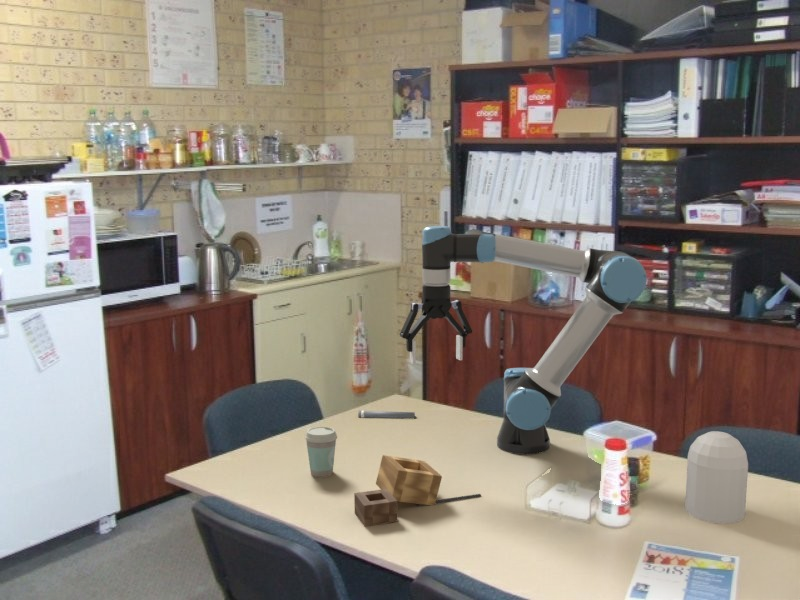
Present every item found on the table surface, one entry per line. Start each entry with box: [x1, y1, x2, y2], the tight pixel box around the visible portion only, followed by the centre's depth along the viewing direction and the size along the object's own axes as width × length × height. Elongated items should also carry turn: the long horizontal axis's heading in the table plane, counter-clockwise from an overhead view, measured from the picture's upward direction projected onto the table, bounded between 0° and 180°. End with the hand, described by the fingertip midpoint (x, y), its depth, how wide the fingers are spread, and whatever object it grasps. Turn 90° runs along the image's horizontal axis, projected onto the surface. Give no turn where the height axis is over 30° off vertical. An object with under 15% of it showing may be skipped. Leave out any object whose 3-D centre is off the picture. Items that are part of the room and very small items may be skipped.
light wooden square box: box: [375, 454, 443, 506], centre depth 213 cm, size 12×12×8 cm
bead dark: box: [353, 489, 398, 527], centre depth 202 cm, size 8×8×5 cm
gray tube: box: [357, 410, 416, 419], centre depth 278 cm, size 3×3×18 cm
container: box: [684, 430, 749, 525], centre depth 203 cm, size 13×13×20 cm
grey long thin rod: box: [417, 493, 482, 507], centre depth 212 cm, size 17×1×1 cm, turn 109°
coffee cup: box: [304, 426, 338, 478], centre depth 230 cm, size 9×8×12 cm
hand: (436, 361), depth 235 cm, fingers open, 13 cm apart
